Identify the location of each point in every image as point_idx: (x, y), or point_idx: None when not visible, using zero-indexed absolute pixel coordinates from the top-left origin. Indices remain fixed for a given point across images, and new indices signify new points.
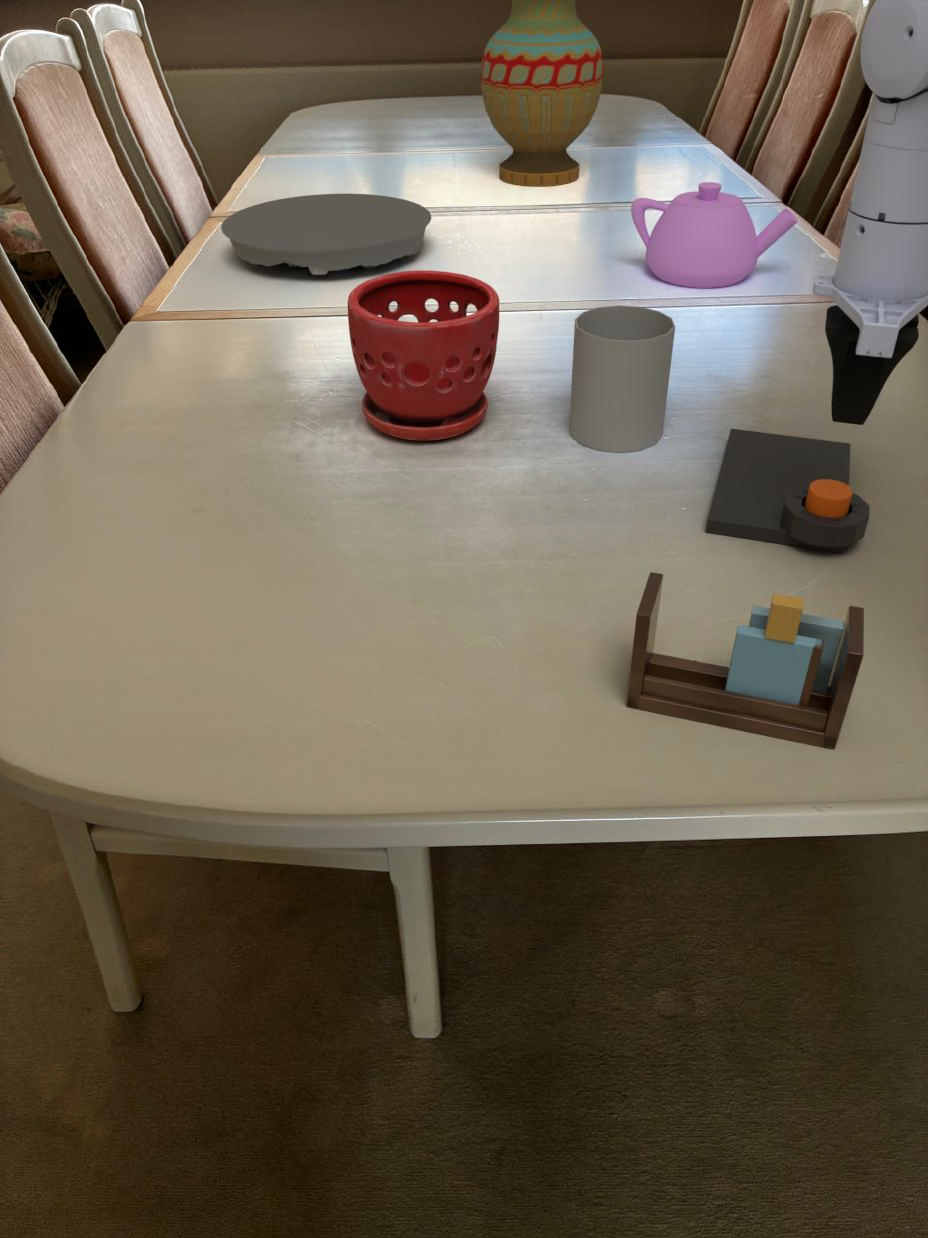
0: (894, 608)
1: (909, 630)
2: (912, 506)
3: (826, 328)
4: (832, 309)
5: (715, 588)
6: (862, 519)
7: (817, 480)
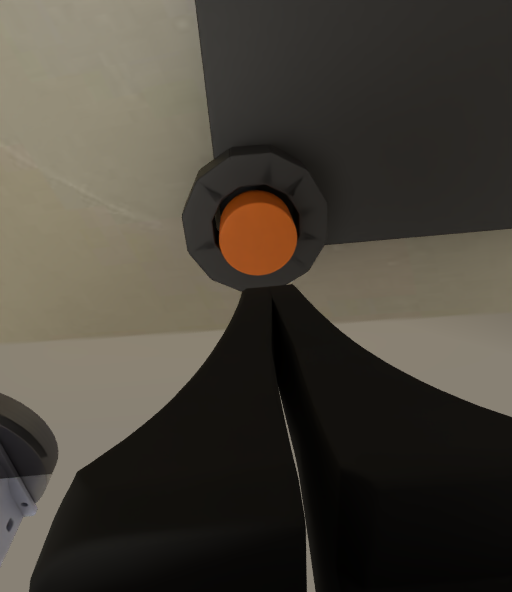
0: (122, 312)
1: (85, 330)
2: (390, 313)
3: (83, 516)
4: (501, 498)
5: (20, 61)
6: (227, 284)
7: (282, 214)
